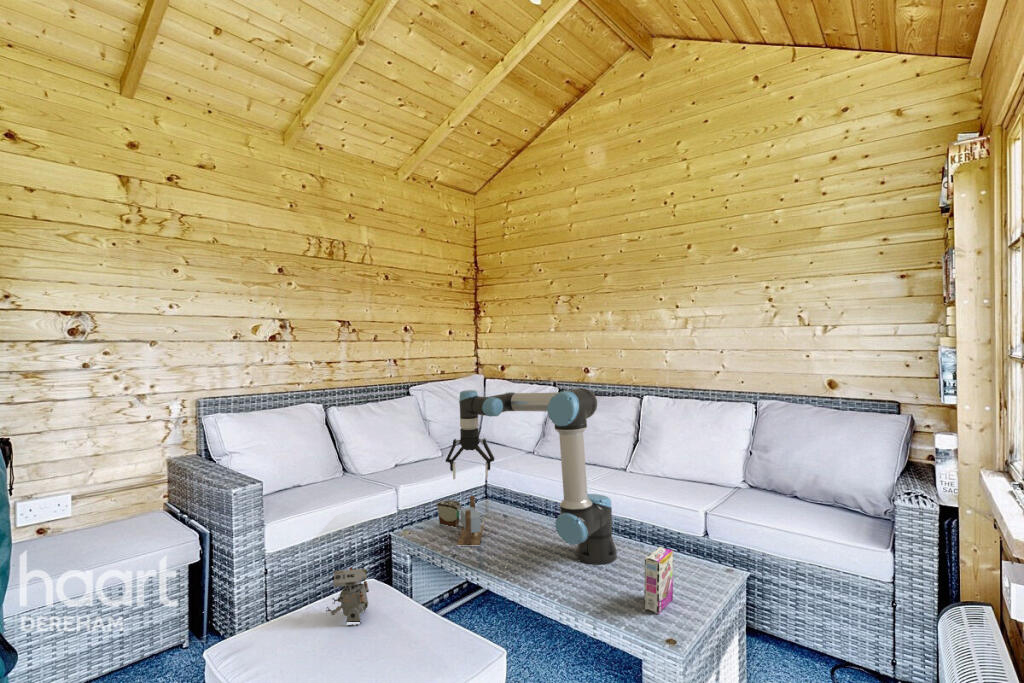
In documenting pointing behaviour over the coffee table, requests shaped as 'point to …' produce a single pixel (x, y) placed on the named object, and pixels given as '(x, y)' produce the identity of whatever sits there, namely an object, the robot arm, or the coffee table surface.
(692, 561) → the coffee table surface
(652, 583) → the candy bar box
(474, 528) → the shelf board
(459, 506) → the food container
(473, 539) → the peg stand
